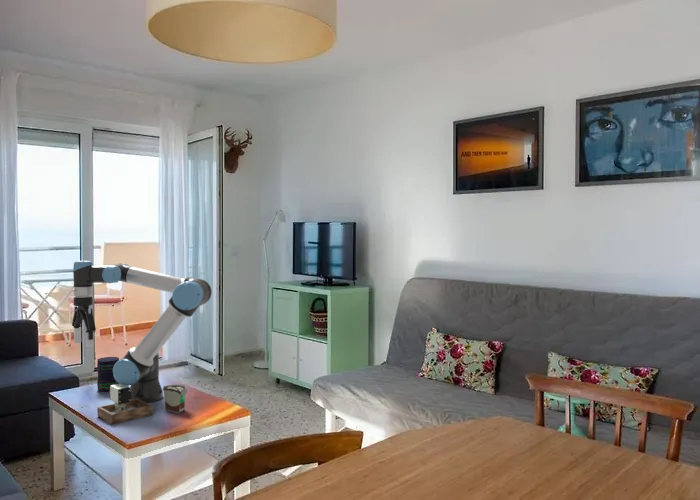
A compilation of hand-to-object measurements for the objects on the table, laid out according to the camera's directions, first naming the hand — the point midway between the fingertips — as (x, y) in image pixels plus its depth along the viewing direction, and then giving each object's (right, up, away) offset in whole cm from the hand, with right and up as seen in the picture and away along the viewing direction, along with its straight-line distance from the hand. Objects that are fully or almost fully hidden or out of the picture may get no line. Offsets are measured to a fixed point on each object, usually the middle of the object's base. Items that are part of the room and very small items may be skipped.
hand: (83, 345), depth 247 cm
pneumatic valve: (+21, -26, -12) cm, 35 cm away
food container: (+42, -27, -4) cm, 51 cm away
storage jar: (0, -26, +26) cm, 37 cm away
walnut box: (+23, -27, -13) cm, 38 cm away
